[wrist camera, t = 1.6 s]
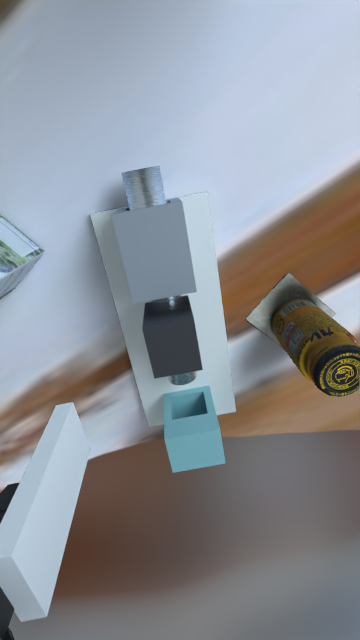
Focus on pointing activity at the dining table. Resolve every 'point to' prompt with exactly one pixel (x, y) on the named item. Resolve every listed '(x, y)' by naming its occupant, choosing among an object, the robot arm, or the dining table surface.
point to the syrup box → (15, 256)
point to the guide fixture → (161, 282)
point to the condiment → (310, 336)
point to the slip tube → (164, 300)
